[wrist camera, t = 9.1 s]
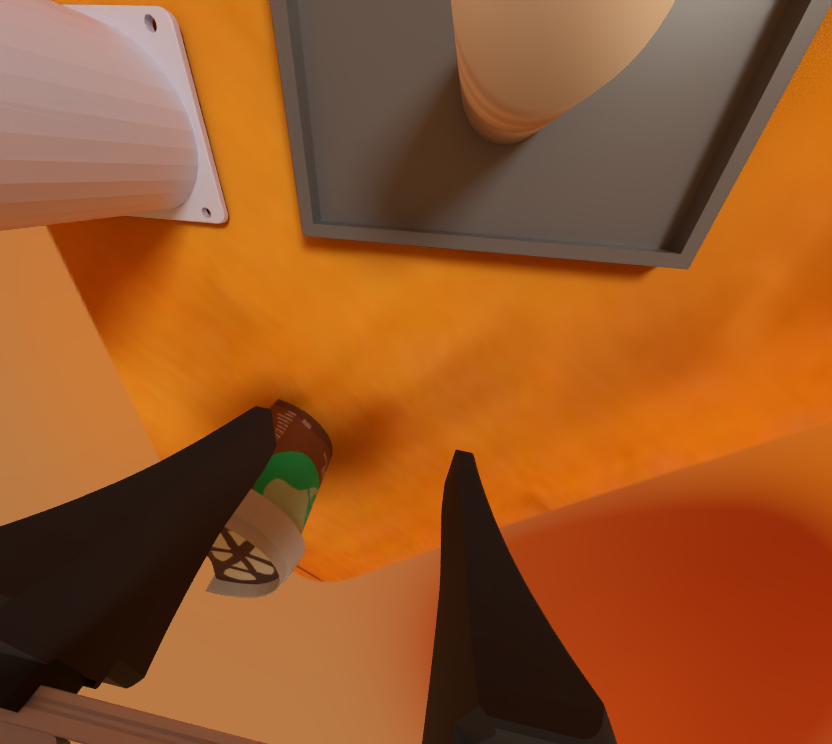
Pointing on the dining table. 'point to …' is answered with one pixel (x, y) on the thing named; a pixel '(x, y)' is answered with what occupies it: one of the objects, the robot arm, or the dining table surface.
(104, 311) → the dining table surface
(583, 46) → the dowel pin
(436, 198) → the tray
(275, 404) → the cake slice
